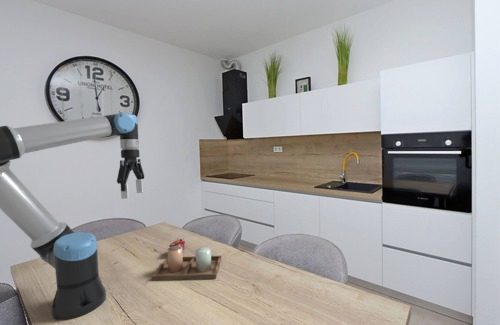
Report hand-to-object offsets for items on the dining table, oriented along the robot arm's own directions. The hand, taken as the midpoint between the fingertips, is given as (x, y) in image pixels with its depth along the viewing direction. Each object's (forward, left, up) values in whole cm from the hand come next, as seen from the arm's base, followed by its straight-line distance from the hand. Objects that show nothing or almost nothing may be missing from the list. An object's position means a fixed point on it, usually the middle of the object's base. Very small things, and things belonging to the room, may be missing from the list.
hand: (132, 195), depth 111 cm
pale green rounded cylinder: (-9, -33, -31) cm, 46 cm away
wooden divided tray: (-9, -27, -32) cm, 43 cm away
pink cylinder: (-9, -21, -31) cm, 38 cm away
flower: (+8, -16, -32) cm, 37 cm away
